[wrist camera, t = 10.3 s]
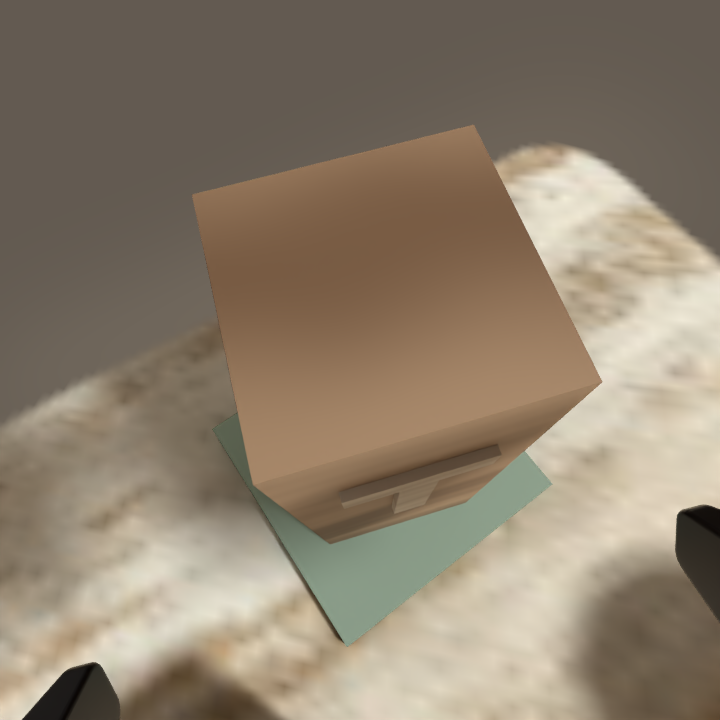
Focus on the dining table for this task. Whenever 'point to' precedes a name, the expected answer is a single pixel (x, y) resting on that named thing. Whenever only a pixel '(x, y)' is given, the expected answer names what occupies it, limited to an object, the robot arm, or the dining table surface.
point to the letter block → (386, 331)
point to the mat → (387, 542)
